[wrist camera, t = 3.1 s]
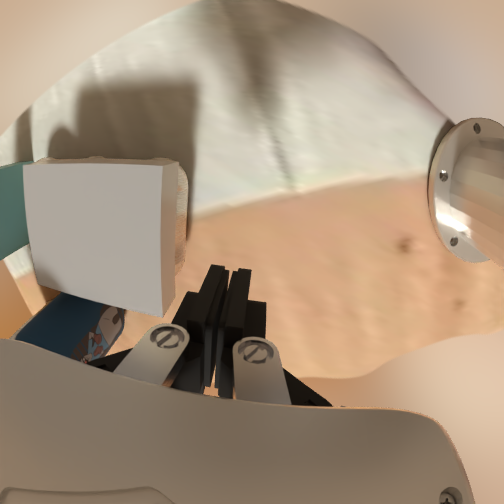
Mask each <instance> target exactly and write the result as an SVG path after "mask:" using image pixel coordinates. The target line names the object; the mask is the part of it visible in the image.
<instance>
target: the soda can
mask: <svg viewBox="0 0 504 504" xmlns="http://www.w3.org/2000/svg"><path fill="white" fill-rule="evenodd" d="M123 328H124V309H123V308H119V307H115V306H111V305H107V304H103V303H100V302H96V301H92V300H89V299H85V298H81V297H78V296H75V295H71V294H68V293H64V292H61V293H60V294H59V295H58V296H57V297H56V298H54V299H53V300H52V301H51V302H50V303H49V304H48V305H47V306H46V307H44V308H43V309H42V310H41V311H40V312H39V313H38V314H37V315H36V316H35V317H34V318H33V319H32V320H31V321H30V322H28V323H27V324H26V325H25V326H24V327H23V328H22V329H21V330H20V331H19V332H18V333H17V334H16V335H15V337H14V340H17V341H23V342H26V343H29V344H33V345H35V346H38V347H41V348H43V349H46V350H49V351H51V352H54V353H57V354H60V355H62V356H65V357H68V358H70V359H73V360H76V361H80V362H81V363H84V364H86V363H87V362H89V361H92V360H95V359H98V358H102V357H105V356H106V354H107V353H108V351H109V350H110V349H111V347H112V346H113V344H114V343H115V341H116V340H117V339H118V337H119V336H120V334H121V333H122V331H123Z"/></svg>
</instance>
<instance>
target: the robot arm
mask: <svg viewBox="0 0 504 504" xmlns="http://www.w3.org/2000/svg"><path fill="white" fill-rule="evenodd" d="M439 174H440V176H439ZM428 197H429V209H430V214H431V220H432V223H433V225H434V228H435V231H436V233H437V235H438V237H439V239H440V240H441V242H442V243H443V245H444V246H445V247H446V248H447V249H448V250H449V251H450V252H451V253H453V254H454V255H455V256H456V257H458V258H460V259H462V260H463V261H466V262H471V263H482V262H485V261H488V260H492V261H493V262H494V263H496V264H497V265H498V266H500V267H501V268H502V269H503V270H504V127H503V126H502V125H501V124H500V123H498V122H496V121H493V120H491V119H486V118H470V119H467V120H464V121H461V122H460V123H458V124H457V125H455V126H454V127H452V128H451V130H450V131H449V132H448V133H447V134H446V135H445V136H444V138H443V140H442V141H441V143H440V145H439V146H438V148H437V151H436V154H435V156H434V159H433V162H432V167H431V171H430V175H429V187H428ZM251 271H252V270H249V269H241V268H239V269H238V271H233V273H232V277H231V280H230V284H229V288H228V279H229V270H225V266H220V265H212V264H211V266H210V268H209V271H208V273H207V275H206V277H205V280H204V282H203V284H202V286H201V289H200V291H199V293H196V292H190V291H188V292H187V293H186V295H185V297H184V299H183V301H182V303H181V305H180V307H179V309H178V311H177V313H176V315H175V317H174V319H173V321H172V323H171V324H159V325H156V326H154V327H152V328H151V329H149V330H148V331H147V332H146V334H145V335H144V336H143V337H142V338H141V339H140V341H139V342H138V343H137V344H136V345H135V347H134V348H131V349H128V350H125V351H121V352H118V353H115V354H112V355H108V356H105V357H102V358H98V359H95V360H92V361H89V362H87V363H86V364H84V363H81V362H80V361H76V360H73V359H70V358H68V357H65V356H62V355H60V354H57V353H54V352H51V351H49V350H46V349H43V348H41V347H38V346H35V345H33V344H29V343H26V342H23V341H17V340H12V339H0V504H475V501H474V497H473V493H472V490H471V487H470V483H469V480H468V477H467V474H466V472H465V469H464V466H463V464H462V461H461V459H460V456H459V454H458V452H457V450H456V447H455V445H454V444H453V442H452V440H451V438H450V436H449V435H448V433H447V431H446V430H445V429H444V427H443V426H442V425H441V424H440V423H439V422H438V421H436V420H434V419H433V418H431V417H428V416H426V415H423V414H421V413H417V412H413V411H409V410H403V409H394V408H379V407H345V406H341V407H333V406H332V405H331V404H330V403H329V402H328V401H327V400H326V399H324V398H323V397H322V396H320V395H319V394H317V393H316V392H314V391H313V390H312V389H311V388H309V387H308V386H306V385H305V384H304V383H302V382H301V381H299V380H298V379H297V378H296V377H294V376H293V375H292V374H290V373H289V372H288V371H286V370H285V369H284V368H282V364H281V360H280V355H279V351H278V349H277V347H276V346H275V345H274V344H273V343H272V342H270V341H268V340H266V339H265V334H266V302H259V301H251V300H248V294H249V286H250V278H251ZM227 290H228V291H227ZM215 365H216V370H215V388H218V395H219V397H216V396H210V395H204V394H203V393H204V389H205V386H206V387H210V386H211V382H212V378H213V373H214V369H215ZM198 393H199V394H198Z"/></svg>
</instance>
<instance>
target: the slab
mask: <svg viewBox="0 0 504 504" xmlns="http://www.w3.org/2000/svg"><path fill="white" fill-rule="evenodd" d="M178 170H179V162H177V161H160V160H138V159H54V160H43V161H39V162H34V163H30V164H26V165H23V183H24V199H25V210H26V219H27V227H28V235H29V241H30V247H31V253H32V259H33V264H34V269H35V273H36V278H37V282H38V284H39V285H42V286H45V287H48V288H52V289H55V290H58V291H61V292H64V293H68V294H71V295H75V296H78V297H81V298H85V299H89V300H92V301H96V302H100V303H103V304H107V305H111V306H115V307H119V308H123V309H127V310H131V311H135V312H140V313H144V314H148V315H153V316H157V317H162V318H163V317H164V315H165V313H166V312H167V310H168V308H169V307H170V305H171V303H172V302H173V300H174V298H175V233H176V205H177V186H178Z"/></svg>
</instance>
